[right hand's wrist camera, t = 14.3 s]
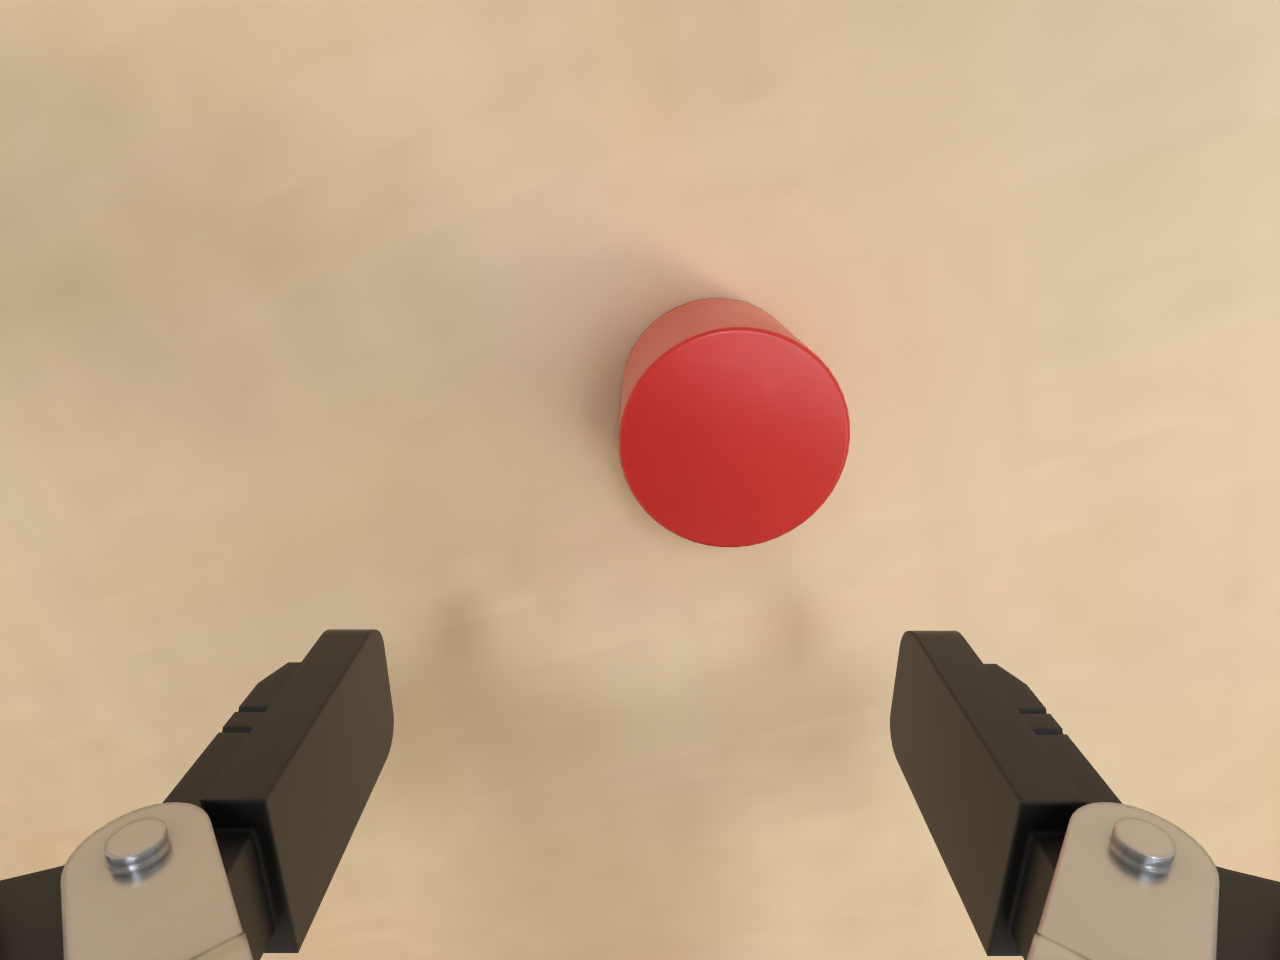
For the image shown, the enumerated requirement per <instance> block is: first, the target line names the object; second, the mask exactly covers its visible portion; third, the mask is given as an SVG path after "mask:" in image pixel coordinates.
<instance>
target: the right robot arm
mask: <svg viewBox="0 0 1280 960" xmlns="http://www.w3.org/2000/svg"><path fill="white" fill-rule="evenodd" d="M393 727H394V716H393V707H392V700H391V692H390V685H389V678H388V670H387V663H386V656H385V648H384V642H383V638H382V635H381V633H380V632H379V631H378V630H326V631H325V632H324V633H323V634H322V635H321V636H320V638H319V639H318V641H317V642H316V643H315V645H314V646H313V647H312V649H311V650H310V651H309V653H308V654H307V655H306V657H305V658H304V659H303V661H302V662H301V663H287V664H286V665H284V666H283V667H281V668H280V669H278V670H277V671H275V672H274V673H272V674H271V675H269V676H268V677H266V678H265V679H264V680H262V681H261V682H259V683H258V684H257V685H256V686H255V688H254V689H253V690H252V691H251V693H250V694H249V695H248V696H247V698H246V699H245V700H244V702H243V703H242V704H241V705H240V707H239V711H238V712H235V713H234V714H233V715H232V717H231V718H230V719H229V720H228V722H227V723H226V724H225V725H224V727H223V731H222V733H218V734H217V735H216V737H215V738H214V739H213V740H212V742H211V743H210V744H209V745H208V747H207V748H206V749H205V750H204V752H203V753H202V754H201V755H200V757H199V758H198V759H197V760H196V762H195V763H194V764H193V765H192V767H191V768H190V769H189V771H188V772H187V773H186V774H185V776H184V777H183V778H182V779H181V781H180V782H179V783H178V784H177V786H176V787H175V788H174V789H173V791H172V792H171V793H170V794H169V796H168V797H167V798H166V799H165V801H164V802H163V803H161V804H155V805H151V806H147V807H144V808H141V809H138V810H135V811H132V812H130V813H127V814H125V815H123V816H121V817H119V818H117V819H115V820H113V821H111V822H109V823H108V824H106V825H105V826H103V827H101V828H100V829H98V830H97V831H96V832H94V833H93V834H92V835H90V836H89V837H88V838H87V839H86V840H85V841H84V842H82V843H81V844H80V845H79V846H78V847H77V848H76V850H75V851H74V852H73V853H72V855H71V856H70V857H69V859H68V861H67V862H66V864H65V865H64V866H60V867H56V868H52V869H48V870H43V871H39V872H35V873H31V874H27V875H22V876H18V877H14V878H10V879H6V880H1V881H0V960H260V959H261V957H262V955H263V953H298V952H299V950H300V948H301V945H302V943H303V941H304V939H305V937H306V934H307V932H308V930H309V928H310V926H311V923H312V921H313V919H314V917H315V915H316V913H317V910H318V908H319V906H320V904H321V902H322V899H323V897H324V895H325V893H326V891H327V888H328V886H329V884H330V882H331V880H332V877H333V875H334V873H335V871H336V869H337V867H338V864H339V862H340V860H341V858H342V856H343V853H344V851H345V849H346V847H347V845H348V842H349V840H350V838H351V836H352V834H353V831H354V829H355V827H356V825H357V823H358V821H359V818H360V816H361V814H362V812H363V810H364V807H365V805H366V803H367V801H368V799H369V796H370V794H371V792H372V790H373V788H374V786H375V783H376V781H377V779H378V777H379V775H380V772H381V770H382V768H383V766H384V764H385V761H386V759H387V757H388V754H389V751H390V747H391V743H392V737H393ZM890 732H891V740H892V746H893V750H894V753H895V756H896V759H897V761H898V763H899V765H900V768H901V770H902V772H903V774H904V776H905V778H906V781H907V783H908V785H909V787H910V789H911V791H912V794H913V796H914V798H915V800H916V802H917V804H918V807H919V809H920V811H921V813H922V815H923V817H924V820H925V822H926V824H927V826H928V828H929V830H930V833H931V835H932V837H933V839H934V841H935V843H936V846H937V848H938V850H939V852H940V854H941V856H942V858H943V861H944V863H945V865H946V867H947V869H948V871H949V874H950V876H951V878H952V880H953V882H954V884H955V887H956V889H957V891H958V893H959V895H960V897H961V900H962V902H963V904H964V906H965V908H966V910H967V913H968V915H969V917H970V919H971V921H972V923H973V926H974V928H975V930H976V932H977V934H978V936H979V939H980V941H981V943H982V945H983V947H984V949H985V952H986V954H987V956H1023V958H1024V960H1280V882H1278V881H1273V880H1269V879H1265V878H1261V877H1257V876H1252V875H1248V874H1244V873H1240V872H1236V871H1231V870H1227V869H1224V868H1220V867H1217V866H1215V864H1214V862H1213V861H1212V859H1211V857H1210V856H1209V855H1208V853H1207V852H1206V851H1205V850H1204V848H1203V847H1202V846H1201V845H1200V844H1199V843H1198V842H1196V841H1195V840H1194V839H1193V838H1192V837H1191V836H1190V835H1188V834H1187V833H1186V832H1184V831H1183V830H1182V829H1180V828H1179V827H1177V826H1175V825H1174V824H1172V823H1171V822H1169V821H1167V820H1165V819H1163V818H1161V817H1159V816H1157V815H1155V814H1153V813H1150V812H1148V811H1145V810H1142V809H1139V808H1136V807H1133V806H1129V805H1125V804H1122V803H1121V801H1120V800H1119V799H1118V798H1117V796H1116V795H1115V794H1114V793H1113V792H1112V790H1111V789H1110V788H1109V787H1108V785H1107V784H1106V783H1105V782H1104V780H1103V779H1102V778H1101V777H1100V775H1099V774H1098V773H1097V772H1096V770H1095V769H1094V768H1093V767H1092V765H1091V764H1090V763H1089V762H1088V760H1087V759H1086V758H1085V757H1084V755H1083V754H1082V753H1081V752H1080V750H1079V749H1078V748H1077V747H1076V746H1075V744H1074V743H1073V742H1072V741H1071V739H1070V738H1069V737H1068V736H1067V735H1063V732H1062V728H1061V727H1060V726H1059V724H1058V723H1057V722H1056V721H1055V719H1054V718H1053V717H1052V716H1051V714H1047V713H1046V708H1045V707H1044V706H1043V705H1042V703H1041V702H1040V701H1039V700H1038V698H1037V697H1036V696H1035V695H1034V693H1033V692H1032V691H1031V690H1030V688H1029V687H1028V686H1027V685H1026V684H1025V683H1023V682H1022V681H1020V680H1019V679H1017V678H1016V677H1014V676H1013V675H1012V674H1010V673H1009V672H1007V671H1006V670H1004V669H1003V668H1001V667H1000V666H998V665H997V664H983V663H982V661H981V660H980V659H979V657H978V656H977V655H976V653H975V652H974V651H973V649H972V648H971V647H970V645H969V644H968V643H967V641H966V640H965V639H964V637H963V636H962V635H961V634H960V633H959V632H957V631H906V632H905V633H904V635H903V637H902V639H901V643H900V649H899V656H898V663H897V671H896V678H895V685H894V692H893V700H892V707H891V715H890Z"/></svg>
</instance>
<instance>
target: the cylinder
mask: <svg viewBox="0 0 1280 960" xmlns="http://www.w3.org/2000/svg"><path fill="white" fill-rule="evenodd" d="M849 441H850V421H849V415H848V409H847V405H846V402H845V399H844V395H843V393H842V391H841V389H840V386H839V384H838V382H837V380H836V379H835V377H834V376H833V374H832V373H831V371H830V370H829V368H828V367H827V366H826V365H825V364H824V363H823V362H822V361H821V359H820V358H819V357H818V356H817V355H815V354H814V353H813V352H812V351H811V350H810V349H809V348H808V347H806V346H805V345H804V344H803V343H802V342H801V341H800V340H799V339H797V338H796V337H795V336H794V335H793V334H792V333H791V332H790V331H788V330H787V329H786V328H785V327H784V326H783V325H782V324H781V323H779V322H778V321H777V320H776V319H775V318H773V317H772V316H771V315H769V314H768V313H766V312H765V311H763V310H761V309H760V308H757V307H755V306H753V305H751V304H748V303H745V302H741V301H738V300H731V299H722V298H711V299H703V300H697V301H694V302H690V303H686V304H684V305H681V306H679V307H676V308H674V309H673V310H671V311H669V312H667V313H666V314H664V315H663V316H661V317H660V318H659V319H657V320H656V321H655V322H654V323H653V324H652V325H651V326H650V327H649V328H648V329H647V330H646V331H645V332H644V333H643V334H642V336H641V337H640V338H639V339H638V341H637V343H636V344H635V346H634V348H633V349H632V351H631V353H630V356H629V358H628V360H627V363H626V367H625V370H624V374H623V381H622V393H621V409H620V425H619V453H620V461H621V465H622V469H623V473H624V476H625V479H626V481H627V483H628V485H629V488H630V490H631V492H632V493H633V495H634V496H635V498H636V500H637V501H638V503H639V504H640V505H641V506H642V508H643V509H644V510H645V511H646V512H647V513H648V514H649V515H650V516H651V517H652V518H653V519H654V520H655V521H656V522H658V523H659V524H660V525H662V526H663V527H665V528H666V529H667V530H669V531H671V532H673V533H675V534H676V535H678V536H680V537H683V538H685V539H688V540H690V541H693V542H697V543H701V544H705V545H710V546H717V547H741V546H750V545H754V544H759V543H763V542H766V541H769V540H772V539H774V538H777V537H779V536H781V535H783V534H785V533H787V532H789V531H791V530H793V529H794V528H796V527H797V526H799V525H800V524H802V523H803V522H804V521H806V520H807V519H808V518H809V517H810V516H812V515H813V514H814V513H815V512H816V511H817V510H818V509H819V508H820V506H821V505H822V504H823V503H824V502H825V500H826V499H827V498H828V496H829V495H830V494H831V492H832V491H833V489H834V487H835V485H836V484H837V482H838V480H839V478H840V476H841V473H842V471H843V468H844V466H845V462H846V458H847V454H848V449H849Z"/></svg>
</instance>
